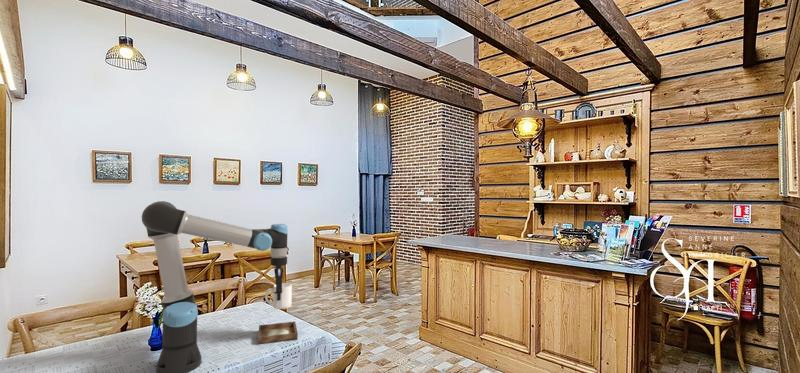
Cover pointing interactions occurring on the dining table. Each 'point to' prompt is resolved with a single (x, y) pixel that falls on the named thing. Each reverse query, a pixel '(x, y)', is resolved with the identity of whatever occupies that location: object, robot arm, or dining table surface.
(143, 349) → the dining table surface
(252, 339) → the dining table surface
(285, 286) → the cup
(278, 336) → the tray
